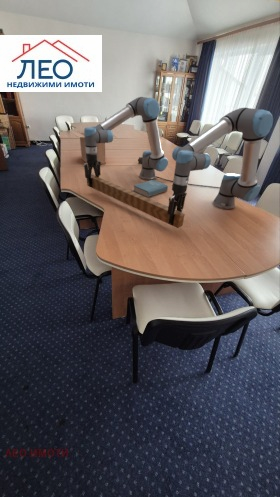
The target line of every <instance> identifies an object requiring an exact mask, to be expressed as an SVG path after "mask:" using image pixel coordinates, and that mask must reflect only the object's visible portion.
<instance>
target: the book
mask: <svg viewBox="0 0 280 497" xmlns="http://www.w3.org/2000/svg"><path fill="white" fill-rule="evenodd" d="M168 187H169V186H168V184H166V183H164V182H160V181H159V180H156V179H153V180H146V181H143V182H140V183H137V184H134V185H133V192H135V193H137V194H139V195H142V196H144V197H146V198H150V197H153V196H156V195H159V194H161V193H164V192H167V191H168Z"/></svg>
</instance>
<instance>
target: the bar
mask: <svg viewBox="0 0 280 497" xmlns="http://www.w3.org/2000/svg"><path fill="white" fill-rule="evenodd" d="M91 179H92V188H91V189H94V190H95V191H98V192H99V193H101V194H104V195H106V196H107V197H109V198H110V197H111V198H112V199H115V200H117V201H119V202H121V203H123V204H126V205H127V206H130V207H132V208H134V209H136V210H138V211H140V212H142V213H145V214H146V215H149V216H151V217H153V218H155V219H157V220H159V221H162V222H164V223H166V224H168V223H169V217H170V215H169V214H167V213H168V206H169V205H165V204H163V203H161V202H159V201H156V200H153V199H151V198H150V197H145V196H143V195H140V194H138V193H136V192H134V191H133V190H130V189H128V188H125V187H123V186H120V185H118V184H116V183H113V182H111V181H108V180H106V179H104V178H101V177H100V176H99V177H97V176H95V174H93V173H91ZM86 186H87V187H89V183H88V178H86ZM174 215H175V217H174V223H173V226H172V227H174V228H176V229H179V228H181V227H183V224H184V219H185V216H186V214H185V213H184V212H183V211H182V212H180V211H177V209H175V213H174Z"/></svg>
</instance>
